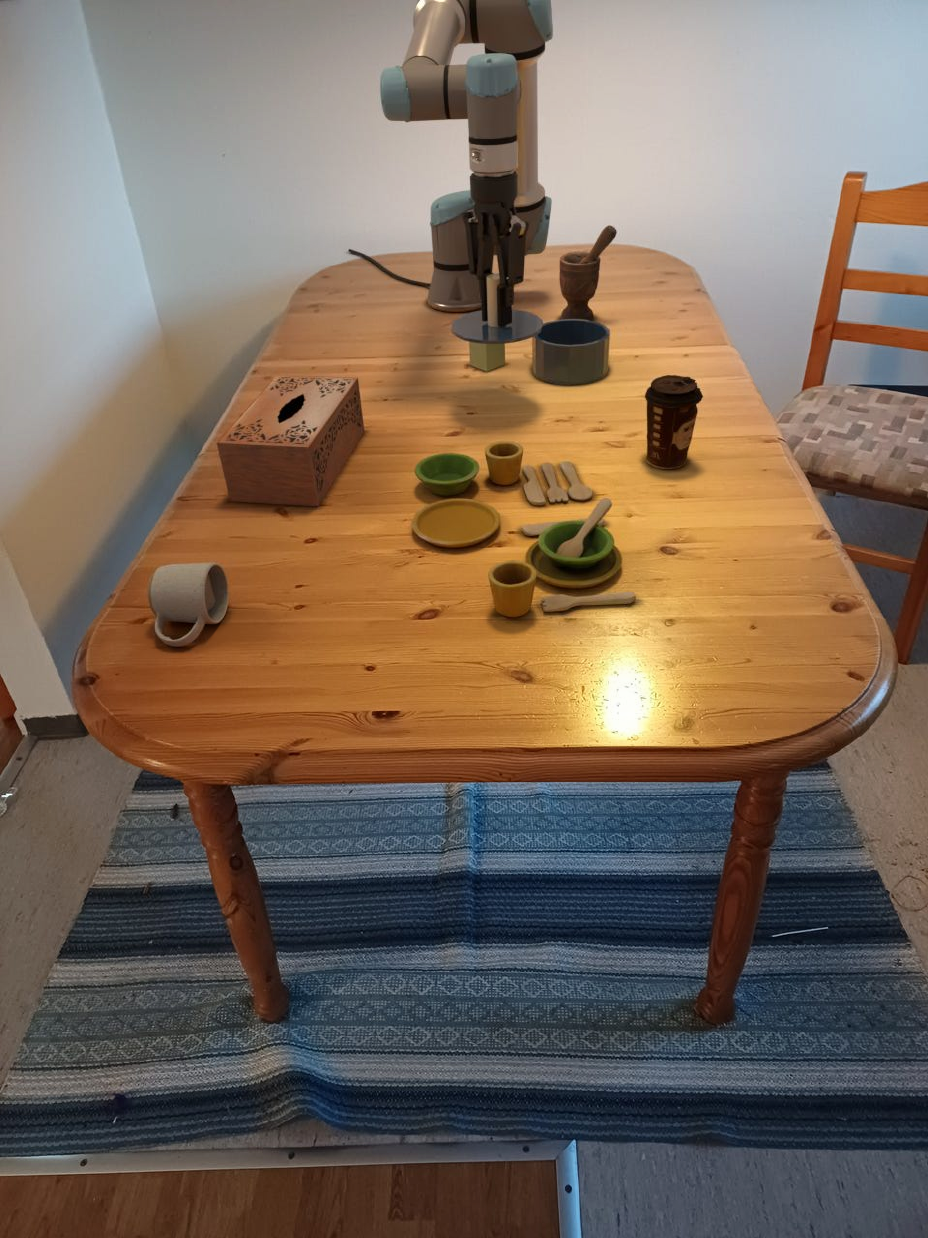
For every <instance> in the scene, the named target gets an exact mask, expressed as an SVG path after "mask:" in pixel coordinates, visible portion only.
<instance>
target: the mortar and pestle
mask: <svg viewBox="0 0 928 1238" xmlns="http://www.w3.org/2000/svg"><path fill="white" fill-rule="evenodd" d="M617 233H618V231H617V229H616V228H615V226H613V225H607V226H605V227H604V228H603V229H602V231H601V232H600V234H599V235H598V237H597V239H596V241H595V243H594V245H593V246H592V248H591V250H589V252H579V251H578V252H575V251H574V252H567V253H565V254H562V255H561V256H560V257H559V279H558V281H559V288H560V292H561V295H562V297H563V298H564V299H565V301H566V304H567V305H566V307H564V308H563V310H562V312H561V315H560V320H562V319H583V320H589V321H594V320H595V315H594V311H593V309H592V308H590V306H589V301H590V300H591V299H593V298H594V297H595V295H596V292H597V288H598V286H599V279H600V270H601V257H600V256H601V255H602V254H603V252H604V251H605V250H606V249H607V248H608V247H609V245H610V244H611V243H612V242H613V240H614V239H615V238H616V236H617Z"/></svg>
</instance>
